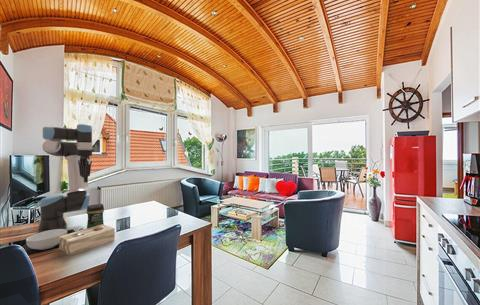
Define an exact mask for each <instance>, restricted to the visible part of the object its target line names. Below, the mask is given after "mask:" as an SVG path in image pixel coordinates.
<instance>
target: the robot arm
mask: <svg viewBox="0 0 480 305" xmlns="http://www.w3.org/2000/svg"><path fill="white" fill-rule="evenodd" d="M42 139H43V140H45V141H44V142H43V143H42V150H43V151H44V152H45V153H46V154H48V155H50V156H53V157H64V159H65V160H66V162H67V174H68V188H69V189H68V191H67V193H66V195H64V194H62V193H61V194H60V193H59V194H54V195H50V196H46V197H43V198H41V200H40V203H39V204H40V206H39V207H40V221H39V224H38V226H37V229H36V234H37V233H40V232H44V231H48V230H54V229H66V230H67V227H68V226H67V225H68V224H67V222H66V220H65V218H64V217H65V216H64V214H66V213H67V214H68V213H72V212H77V211H83V210H87V207H88V205H90V199H91V198H90V197H91V195H90V193H89V192H88V191H87V189H85V188H89V177H91V168H92V163H93V162H92V160H90V157H92V155H93V150H92V149H93V127H92V125H90V124H84V123H82V124H81V123H79V124H76V127H75V128H74V127H59V126H58V127H56V126H54V127H53V126H43V128H42Z"/></svg>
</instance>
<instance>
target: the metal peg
mask: <svg viewBox="0 0 480 305" xmlns="http://www.w3.org/2000/svg"><path fill="white" fill-rule="evenodd" d="M82 235H83V233H77V234H74V235H73V237H75V238H76V237H79V236H82Z"/></svg>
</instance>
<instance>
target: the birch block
mask: <svg viewBox="0 0 480 305" xmlns="http://www.w3.org/2000/svg"><path fill="white" fill-rule="evenodd" d="M98 227H102V230H98V231H94V229H95V228H98ZM115 231H116V230H115V227H112V226H108V225H106V224H104V225H103V224H101V225H98V226H94V227H91V228H88V229H87V228H85V229H82V230H81V229H80V230H78V231H75V232H70V233H67V235H63V236H60V237H59V244H58V247H59V248H58V249H59V251H61V252H63V253H65V254H67V255H69V256H73V255H76V254H79V253H83V252H84V251H88V250H91V249H93V248H95V247H98V246H101V245H103V244H106V243H109V242H112V241H115V238H116V237H115ZM77 233H83V235H82V236H79V237H76V238H75V237H73V235H74V234H77Z"/></svg>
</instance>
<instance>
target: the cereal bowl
mask: <svg viewBox="0 0 480 305" xmlns="http://www.w3.org/2000/svg"><path fill="white" fill-rule="evenodd" d="M67 234H68V229H67V228H66V229H54V230H48V231H44V232H40V233H37V232H36V233H34V234H32V235H30V236H28V237H27V238H26V239H25V244H26V246H27V247H28V248H29V249H32V250H39V251H42V250H48V249H52V248H54V247H56V246H58V245H59V237H60V236H63V235H67Z"/></svg>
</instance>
